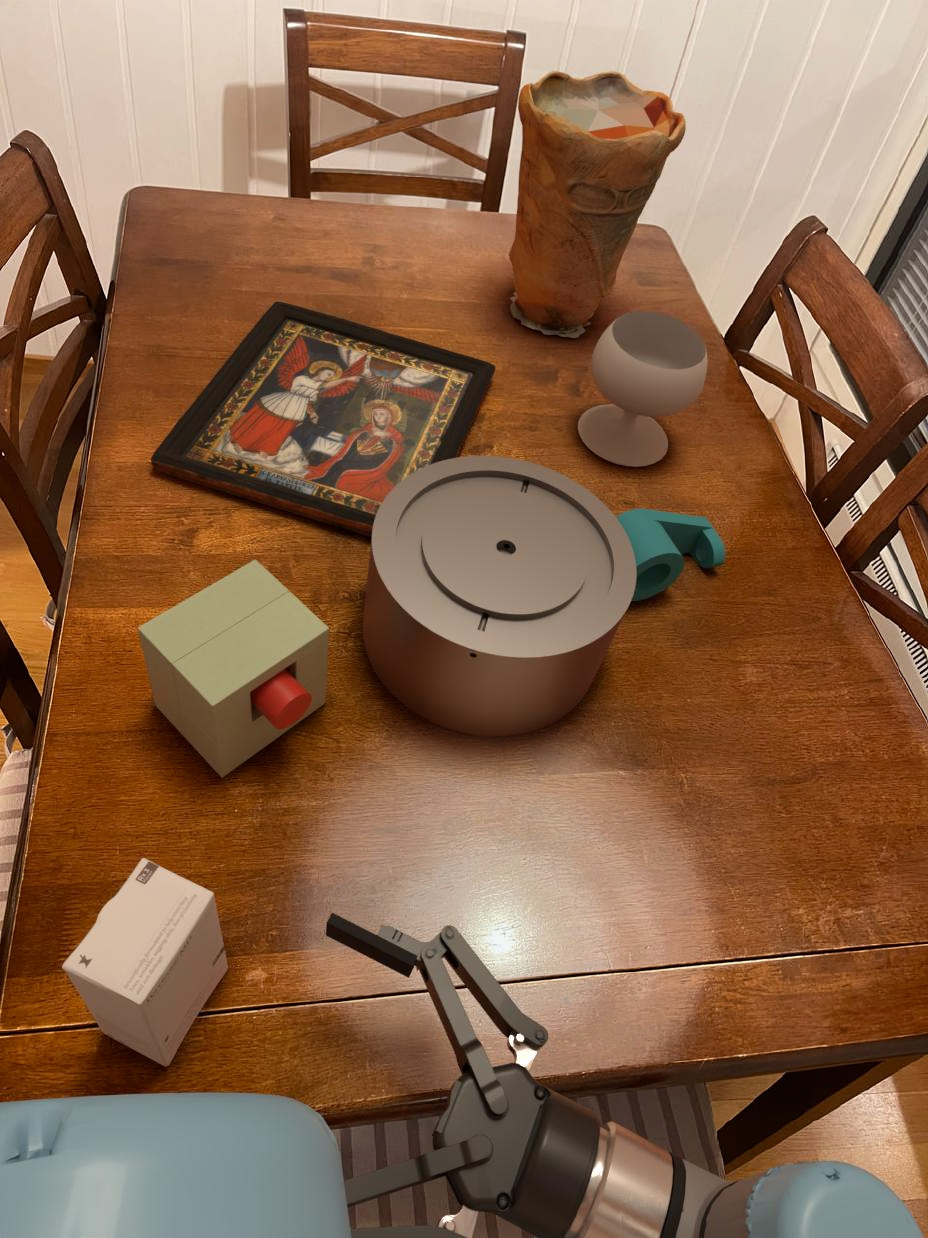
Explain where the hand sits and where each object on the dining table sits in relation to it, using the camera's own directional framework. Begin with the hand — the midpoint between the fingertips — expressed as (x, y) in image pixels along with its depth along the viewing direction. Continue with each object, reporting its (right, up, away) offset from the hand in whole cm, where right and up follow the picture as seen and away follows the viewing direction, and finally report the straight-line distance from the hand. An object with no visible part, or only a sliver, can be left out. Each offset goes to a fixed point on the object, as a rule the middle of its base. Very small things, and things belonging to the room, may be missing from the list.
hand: (276, 1018), depth 57 cm
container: (+14, +24, +36) cm, 46 cm away
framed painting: (-4, +50, +53) cm, 73 cm away
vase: (+25, +72, +76) cm, 108 cm away
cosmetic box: (-10, -3, +10) cm, 15 cm away
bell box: (-9, +18, +26) cm, 33 cm away
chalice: (+33, +50, +59) cm, 84 cm away
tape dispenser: (+34, +31, +45) cm, 65 cm away
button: (-5, +18, +20) cm, 28 cm away
